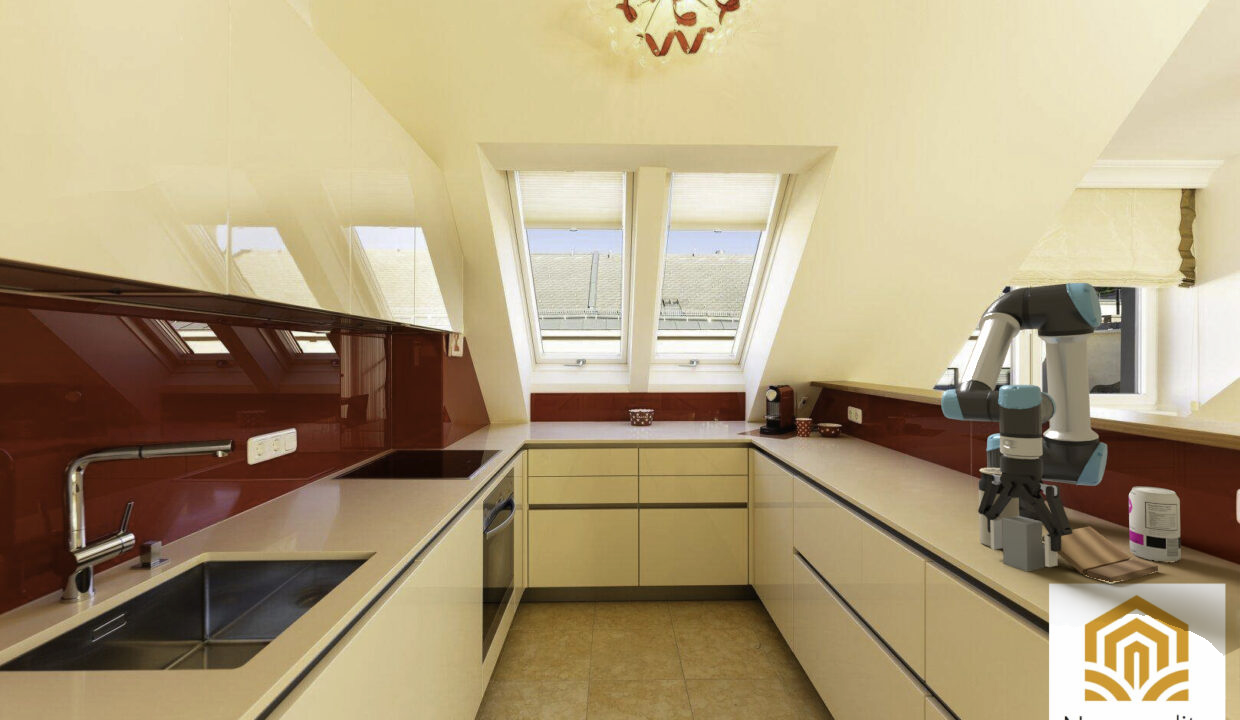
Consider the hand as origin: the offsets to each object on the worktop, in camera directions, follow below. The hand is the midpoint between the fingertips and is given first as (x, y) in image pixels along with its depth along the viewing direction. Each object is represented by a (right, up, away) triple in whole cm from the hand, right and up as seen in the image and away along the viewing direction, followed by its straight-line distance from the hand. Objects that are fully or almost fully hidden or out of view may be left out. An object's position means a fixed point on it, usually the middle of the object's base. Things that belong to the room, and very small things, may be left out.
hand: (1022, 556), depth 119 cm
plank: (+14, +1, +1) cm, 14 cm away
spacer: (+2, -2, +1) cm, 3 cm away
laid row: (+17, -2, -6) cm, 18 cm away
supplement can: (+32, -2, +4) cm, 33 cm away
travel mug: (+4, -2, +13) cm, 14 cm away
